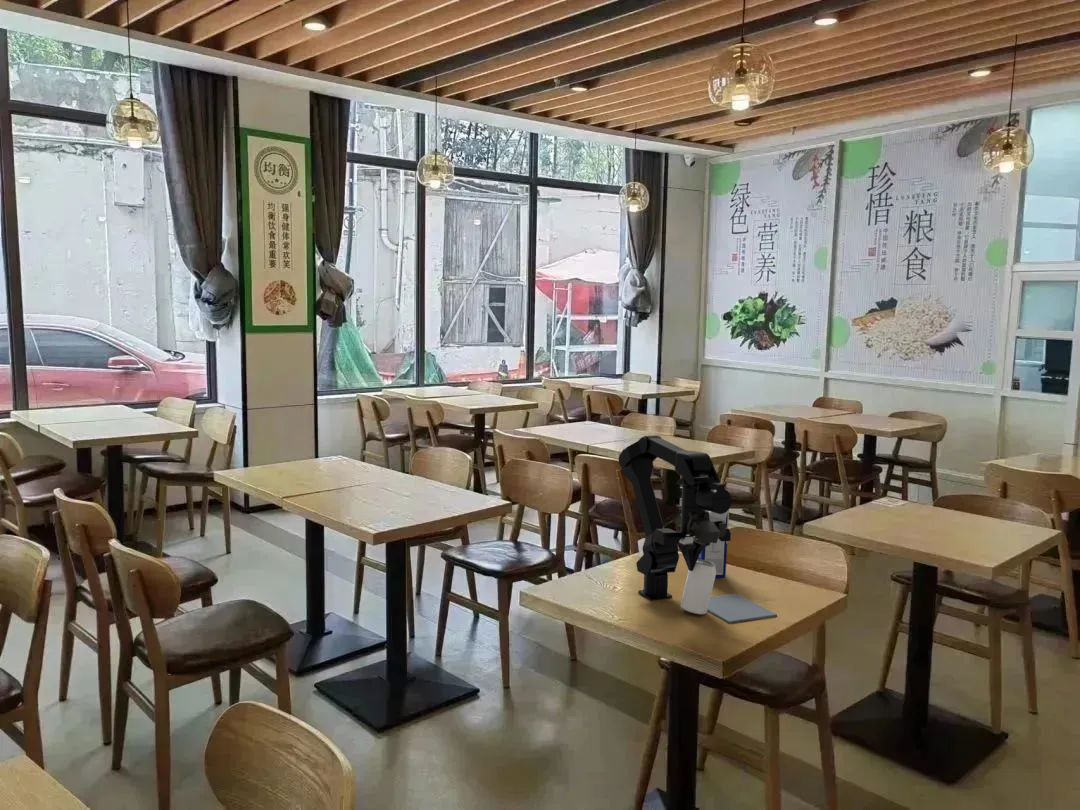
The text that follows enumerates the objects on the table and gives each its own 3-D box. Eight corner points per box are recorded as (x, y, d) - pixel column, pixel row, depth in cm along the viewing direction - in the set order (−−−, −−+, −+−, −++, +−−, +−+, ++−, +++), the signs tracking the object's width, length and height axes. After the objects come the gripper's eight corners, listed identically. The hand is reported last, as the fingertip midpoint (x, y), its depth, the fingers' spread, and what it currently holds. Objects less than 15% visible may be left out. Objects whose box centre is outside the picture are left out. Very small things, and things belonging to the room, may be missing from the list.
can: (680, 603, 213) (691, 556, 212) (706, 610, 212) (717, 563, 211) (679, 610, 206) (691, 561, 206) (706, 617, 205) (718, 568, 205)
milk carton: (725, 578, 237) (729, 506, 234) (701, 578, 236) (704, 506, 234) (719, 570, 244) (723, 501, 241) (695, 570, 243) (699, 500, 241)
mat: (690, 601, 217) (690, 599, 217) (736, 595, 223) (736, 593, 223) (729, 623, 203) (729, 621, 203) (776, 616, 208) (777, 614, 208)
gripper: (678, 514, 195) (675, 582, 196) (746, 510, 202) (743, 576, 203) (652, 505, 205) (650, 570, 206) (719, 501, 212) (716, 564, 213)
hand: (690, 570), depth 207 cm, fingers closed
